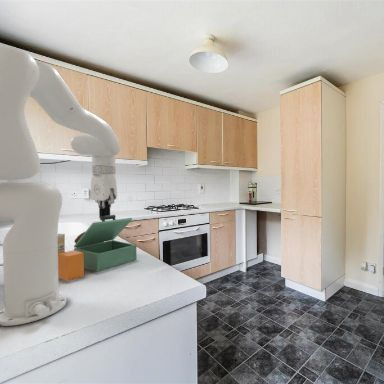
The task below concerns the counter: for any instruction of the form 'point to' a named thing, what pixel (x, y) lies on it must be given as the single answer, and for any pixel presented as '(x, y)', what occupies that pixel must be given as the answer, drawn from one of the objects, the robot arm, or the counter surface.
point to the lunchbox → (107, 254)
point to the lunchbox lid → (103, 231)
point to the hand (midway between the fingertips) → (104, 218)
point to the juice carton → (71, 265)
